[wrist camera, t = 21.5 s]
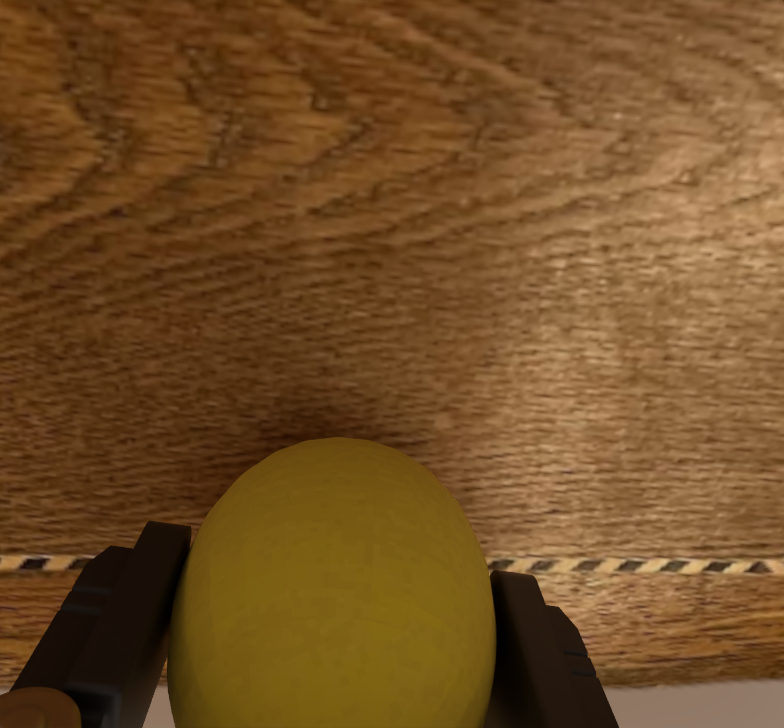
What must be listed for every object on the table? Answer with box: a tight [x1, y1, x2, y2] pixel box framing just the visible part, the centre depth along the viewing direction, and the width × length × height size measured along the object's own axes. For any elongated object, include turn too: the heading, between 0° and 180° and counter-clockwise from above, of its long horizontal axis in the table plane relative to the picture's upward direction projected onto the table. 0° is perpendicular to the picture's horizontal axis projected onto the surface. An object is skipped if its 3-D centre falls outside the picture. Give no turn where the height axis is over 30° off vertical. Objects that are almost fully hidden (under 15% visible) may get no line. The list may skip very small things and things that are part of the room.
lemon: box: [167, 437, 497, 728], centre depth 11 cm, size 6×6×8 cm
